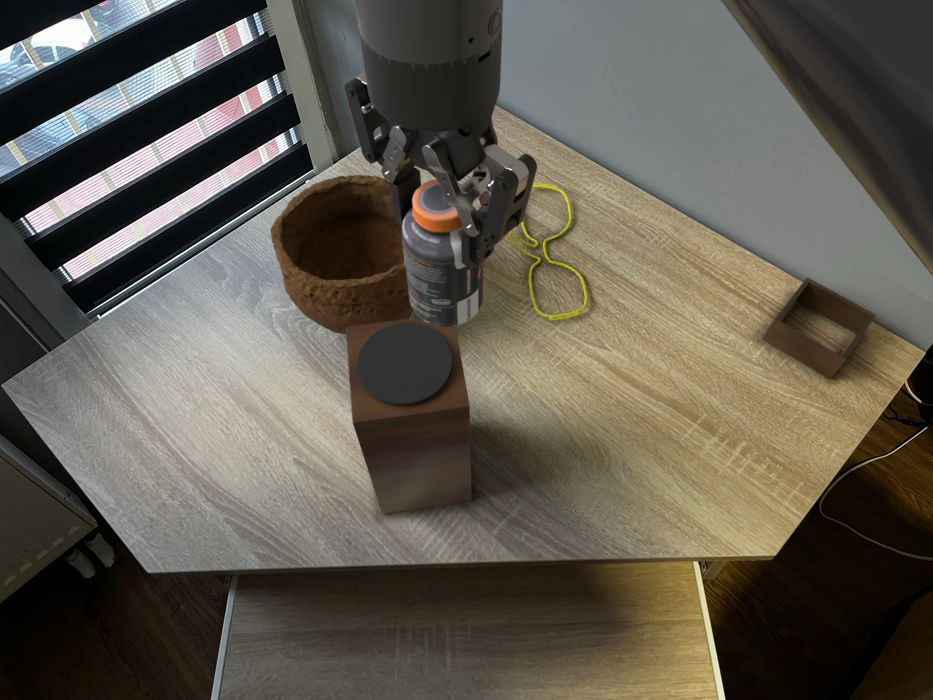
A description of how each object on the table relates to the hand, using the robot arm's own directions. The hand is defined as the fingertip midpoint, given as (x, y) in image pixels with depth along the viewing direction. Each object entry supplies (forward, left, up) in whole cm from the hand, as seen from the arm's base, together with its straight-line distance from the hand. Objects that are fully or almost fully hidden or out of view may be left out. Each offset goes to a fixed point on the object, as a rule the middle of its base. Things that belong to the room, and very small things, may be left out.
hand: (442, 236), depth 50 cm
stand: (-1, +4, -37) cm, 37 cm away
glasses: (+29, -16, -37) cm, 50 cm away
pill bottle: (0, 0, -8) cm, 8 cm away
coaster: (-1, +4, -15) cm, 15 cm away
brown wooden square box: (+9, -47, -37) cm, 61 cm away
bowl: (+24, +9, -37) cm, 45 cm away
